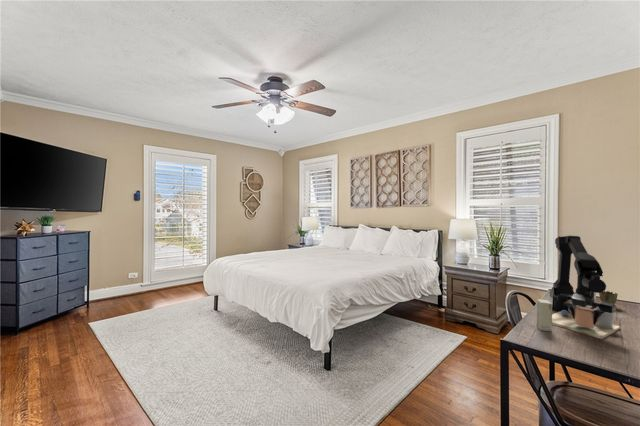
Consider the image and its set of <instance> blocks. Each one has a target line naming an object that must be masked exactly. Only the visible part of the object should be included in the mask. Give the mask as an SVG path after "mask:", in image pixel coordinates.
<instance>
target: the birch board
mask: <svg viewBox="0 0 640 426" xmlns="http://www.w3.org/2000/svg"><path fill="white" fill-rule="evenodd" d="M568 313H569V315H568V316H563V315H562V314H561V311H557V312H555V313H552V325H553V326H556V327H560V328H564V329H566V330H570V331H573V332H577V333H580V334H584V335H587V336H589V337H594V338H597V339H600V340H604V339H605V338H606V337H608V336H609V335H612V334H614V333H615V332H617V331H619V330H620V329H621V326H619V325H615V324H613V329H603V328H599V327H596V326H595V327H594V328H588V327H583V326H579V325H577V324H575V323H574V321H575V319H574V318H573V316H572V313H571V312H568Z"/></svg>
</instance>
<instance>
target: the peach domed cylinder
mask: <svg viewBox="0 0 640 426" xmlns="http://www.w3.org/2000/svg"><path fill="white" fill-rule="evenodd" d="M593 309H594V308H586V307H581V306H577V307H575V321H574V323H575V324H577V325H579V326H583V327H588V328H594V327H595V325H594V324H593V321H594V315H595V312H594V310H593Z"/></svg>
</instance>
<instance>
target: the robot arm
mask: <svg viewBox="0 0 640 426" xmlns="http://www.w3.org/2000/svg"><path fill="white" fill-rule="evenodd" d="M554 244H555V247H556V249H557V251H558V252H559V255H558V257H559V258H558V268H557V269H558V270H557V272H558V273H557V279H556V280H555V281H554V282H553V286H552V287H551V289H550V291H549V297H550V298H551V300H552V302H551V303H552V311H556V312H560V311H562V310H566V311H568V313H570V314H572V316H573V318H574V319H575V307H586V306H587V305H589V306H593V307H592V308H595V309H596V308H597V309H596V310H594V312H595V315H594V321H593V324H594V325H596V323H597V321H598V320H599V318H600V316H601V315H602V314H603V313H605V312H608V313H613V314H614V313H615V312H617V306H616V304H610V303H606V302H601V303H600V302H596V303H595V302H594V301H595V299H594V292H595V293H596V294H599V293H601V292H604V291H606V289H607V285H606V282H605V281H603V280H602V279H601V277H603V276H604V275H603V274H604V272H603V269H602V265H600V262H599V261H598V260H597V259H596V257H594V256H593V255H591V254H589V253H588V251H587V249H586V247H585V246H584V244H583V243H582V240H581V236H579V235H566V236H563V235H562V236H559V235H558V236H557V237H555V239H554ZM572 254H573V256H574V258H575V259H574V263H573V265H574V268H575V271H576V275H577V283H576V284H577V285H576V288H575V291H574V287H573V285H572V284H571V283H570V276H571V275H570V274H571V263H572V262H571V260H572Z"/></svg>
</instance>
